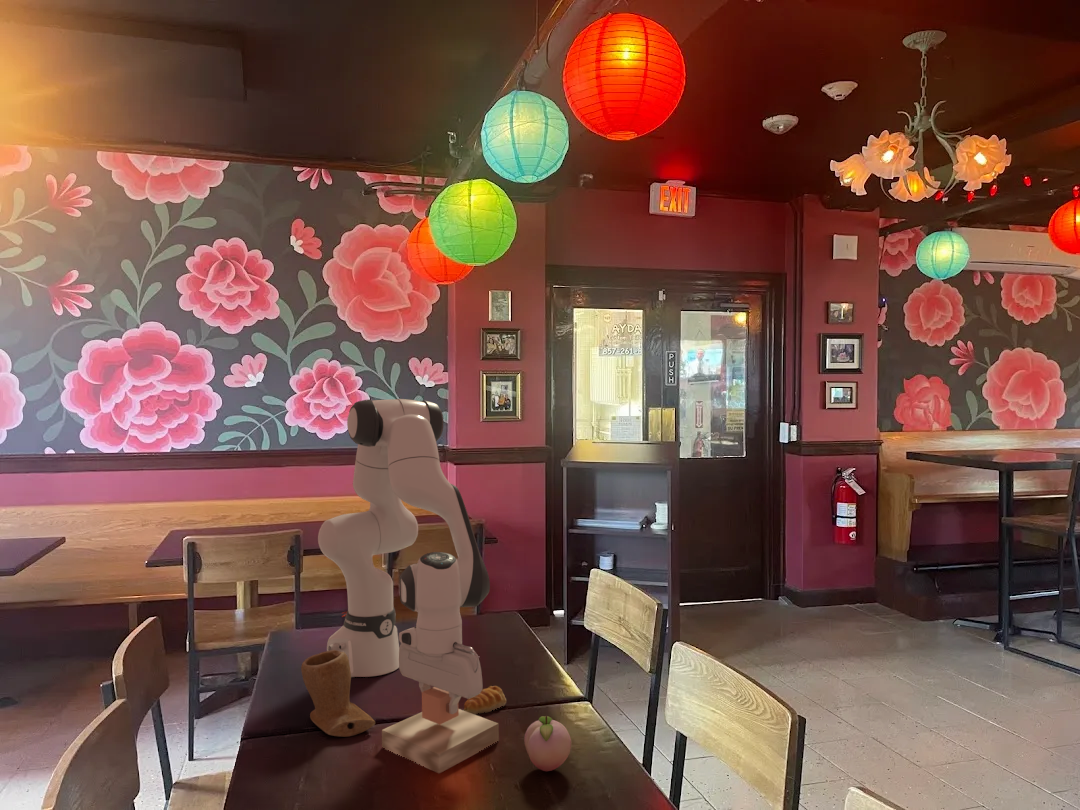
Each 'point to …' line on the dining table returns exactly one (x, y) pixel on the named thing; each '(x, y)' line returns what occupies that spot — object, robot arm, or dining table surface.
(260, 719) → the dining table surface
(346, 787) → the dining table surface
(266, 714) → the dining table surface
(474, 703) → the pastry
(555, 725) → the decorative fruit
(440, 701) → the terracotta block
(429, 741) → the birch base
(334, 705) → the cork boot vase
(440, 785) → the dining table surface
